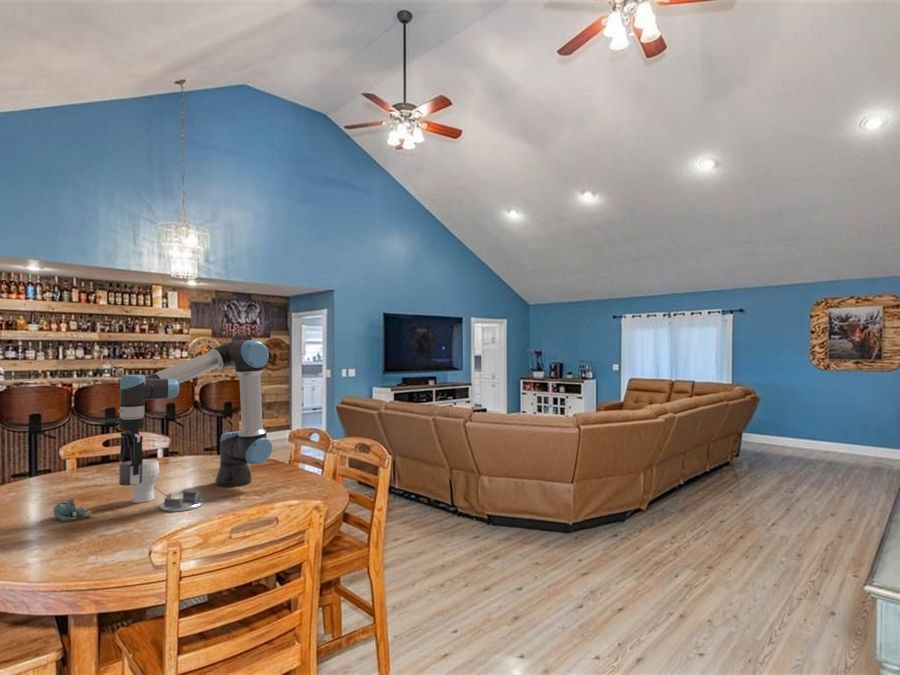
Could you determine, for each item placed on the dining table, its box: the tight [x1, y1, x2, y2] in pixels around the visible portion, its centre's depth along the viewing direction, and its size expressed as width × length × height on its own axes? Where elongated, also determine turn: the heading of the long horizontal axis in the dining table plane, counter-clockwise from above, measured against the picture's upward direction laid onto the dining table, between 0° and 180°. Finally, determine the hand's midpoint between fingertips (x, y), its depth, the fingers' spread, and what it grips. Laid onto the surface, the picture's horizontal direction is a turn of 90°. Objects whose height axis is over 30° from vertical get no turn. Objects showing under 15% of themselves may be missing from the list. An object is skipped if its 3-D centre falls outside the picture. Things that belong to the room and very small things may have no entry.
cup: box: [131, 459, 160, 504], centre depth 203 cm, size 11×11×15 cm
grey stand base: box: [159, 490, 205, 513], centre depth 197 cm, size 15×15×4 cm
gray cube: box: [118, 461, 142, 486], centre depth 183 cm, size 7×7×7 cm
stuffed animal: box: [53, 498, 93, 522], centre depth 182 cm, size 11×7×12 cm
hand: (130, 481), depth 183 cm, fingers closed on gray cube, 7 cm apart
